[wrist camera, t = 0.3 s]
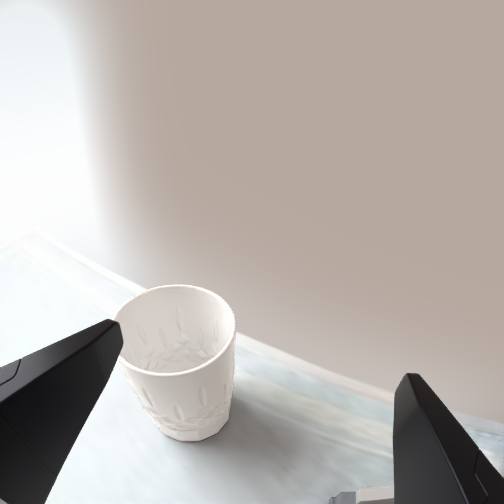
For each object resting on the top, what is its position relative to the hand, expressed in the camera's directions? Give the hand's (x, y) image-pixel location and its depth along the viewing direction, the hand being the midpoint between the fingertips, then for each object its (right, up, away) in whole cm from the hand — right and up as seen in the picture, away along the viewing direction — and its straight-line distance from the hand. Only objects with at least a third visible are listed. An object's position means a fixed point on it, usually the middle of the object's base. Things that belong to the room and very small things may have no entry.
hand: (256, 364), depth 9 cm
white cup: (-5, -10, +15) cm, 18 cm away
